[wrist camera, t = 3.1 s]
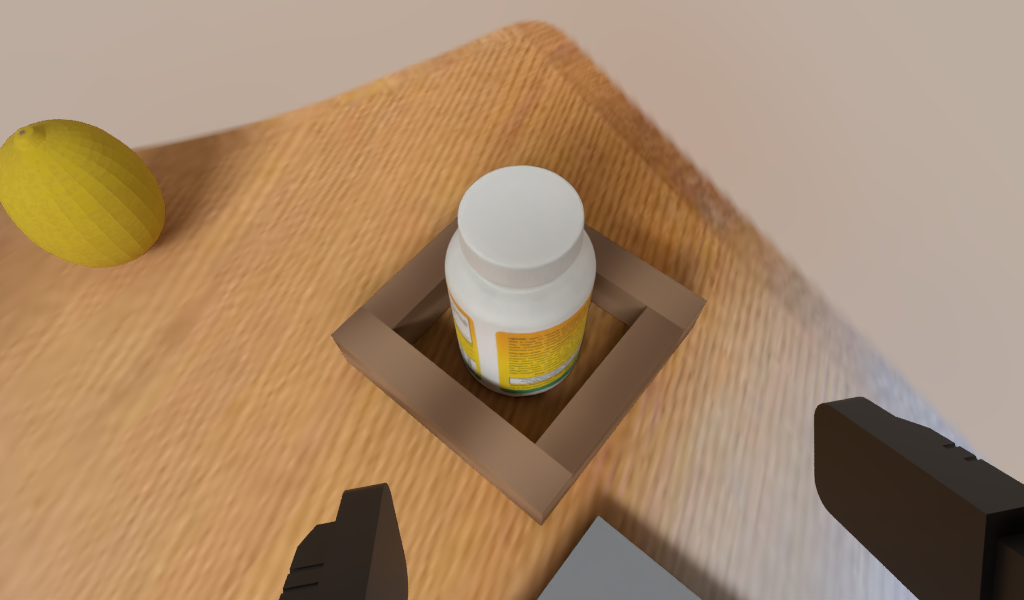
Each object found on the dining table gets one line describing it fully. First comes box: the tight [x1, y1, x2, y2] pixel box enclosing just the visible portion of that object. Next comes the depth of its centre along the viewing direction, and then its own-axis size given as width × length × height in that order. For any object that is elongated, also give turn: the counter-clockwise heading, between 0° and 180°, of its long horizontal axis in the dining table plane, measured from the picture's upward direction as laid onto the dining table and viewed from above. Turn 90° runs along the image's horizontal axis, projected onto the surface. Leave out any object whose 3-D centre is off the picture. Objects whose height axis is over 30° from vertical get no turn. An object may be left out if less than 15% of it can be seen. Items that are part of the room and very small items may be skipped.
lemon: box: [0, 119, 165, 267], centre depth 27 cm, size 6×6×8 cm
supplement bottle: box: [445, 165, 596, 397], centre depth 23 cm, size 5×5×10 cm
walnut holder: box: [331, 217, 706, 525], centre depth 26 cm, size 11×11×2 cm
